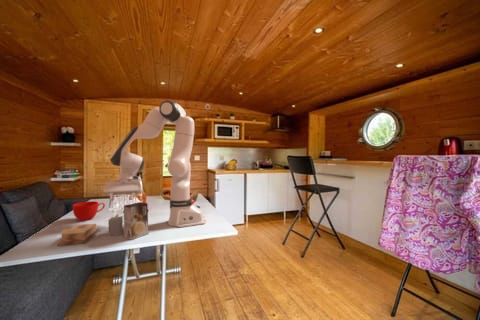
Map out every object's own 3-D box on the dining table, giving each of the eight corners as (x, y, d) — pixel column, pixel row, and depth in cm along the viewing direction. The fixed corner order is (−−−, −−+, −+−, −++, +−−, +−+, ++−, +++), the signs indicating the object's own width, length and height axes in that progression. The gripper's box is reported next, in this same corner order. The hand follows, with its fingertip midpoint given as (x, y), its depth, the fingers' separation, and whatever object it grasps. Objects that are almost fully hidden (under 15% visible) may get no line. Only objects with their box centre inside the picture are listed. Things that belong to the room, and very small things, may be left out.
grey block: (122, 231, 111) (122, 216, 111) (119, 235, 107) (119, 219, 106) (112, 232, 110) (111, 217, 110) (108, 235, 105) (108, 220, 105)
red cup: (108, 217, 136) (108, 202, 135) (76, 224, 123) (75, 207, 122) (101, 213, 144) (101, 199, 144) (70, 219, 131) (70, 204, 131)
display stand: (99, 231, 112) (99, 219, 112) (85, 243, 96) (85, 229, 96) (75, 233, 109) (75, 220, 109) (57, 246, 94) (57, 231, 93)
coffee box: (141, 231, 111) (140, 201, 111) (148, 234, 108) (148, 203, 107) (123, 237, 103) (123, 205, 103) (131, 240, 100) (130, 207, 99)
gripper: (105, 177, 123) (98, 197, 113) (143, 176, 128) (139, 195, 118) (108, 184, 127) (102, 203, 118) (144, 183, 132) (141, 202, 123)
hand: (121, 199), depth 118 cm, fingers open, 8 cm apart
